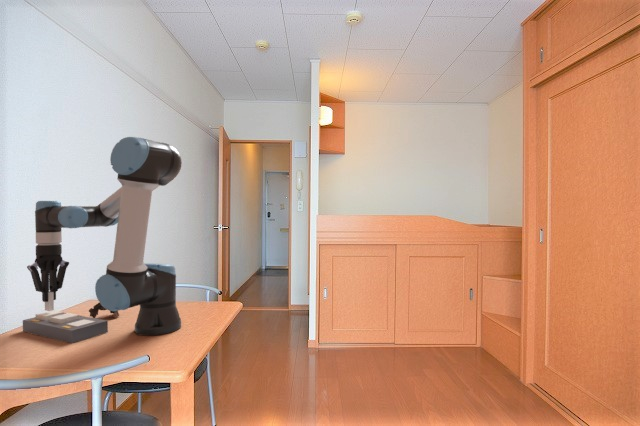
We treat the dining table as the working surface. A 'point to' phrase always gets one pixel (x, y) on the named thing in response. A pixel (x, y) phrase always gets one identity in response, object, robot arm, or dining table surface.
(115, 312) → the dark brown knobbly arch
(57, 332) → the keypad
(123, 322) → the dining table surface
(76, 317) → the key middle
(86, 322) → the key
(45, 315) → the key
